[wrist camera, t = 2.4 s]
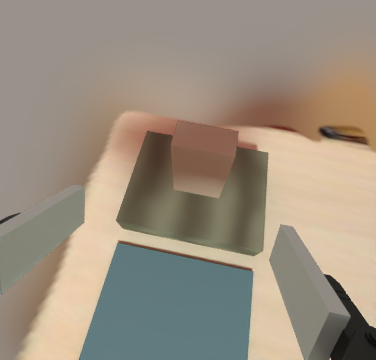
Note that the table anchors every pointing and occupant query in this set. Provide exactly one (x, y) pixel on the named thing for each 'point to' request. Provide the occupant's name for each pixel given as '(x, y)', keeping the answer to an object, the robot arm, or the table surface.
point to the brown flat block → (197, 201)
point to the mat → (170, 309)
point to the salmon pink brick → (202, 158)
